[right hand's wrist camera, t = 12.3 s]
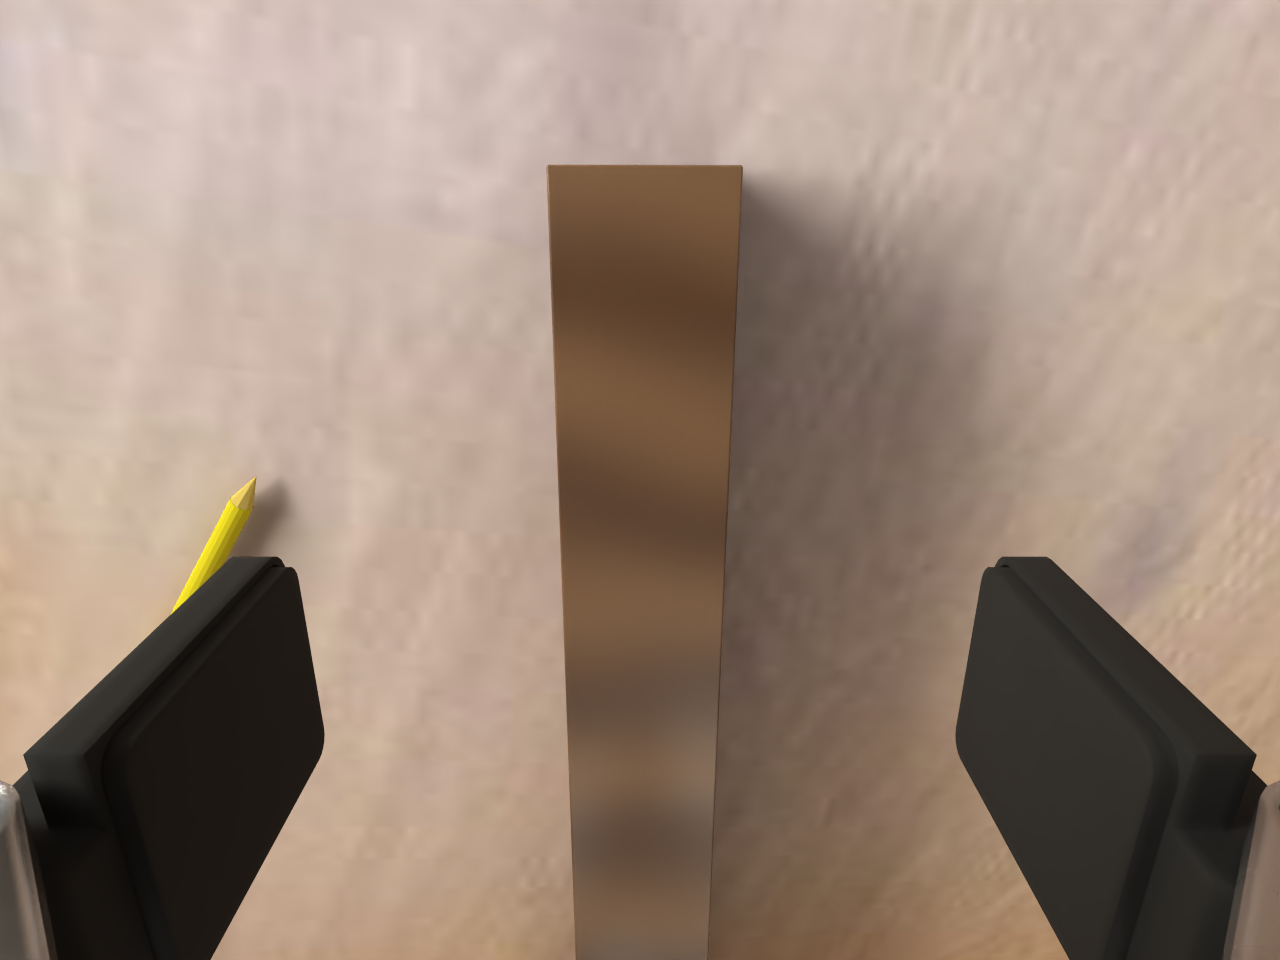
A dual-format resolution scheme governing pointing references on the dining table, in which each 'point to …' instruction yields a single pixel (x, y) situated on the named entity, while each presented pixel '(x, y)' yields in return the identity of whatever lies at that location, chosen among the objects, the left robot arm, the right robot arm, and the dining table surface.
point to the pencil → (221, 540)
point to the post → (643, 536)
